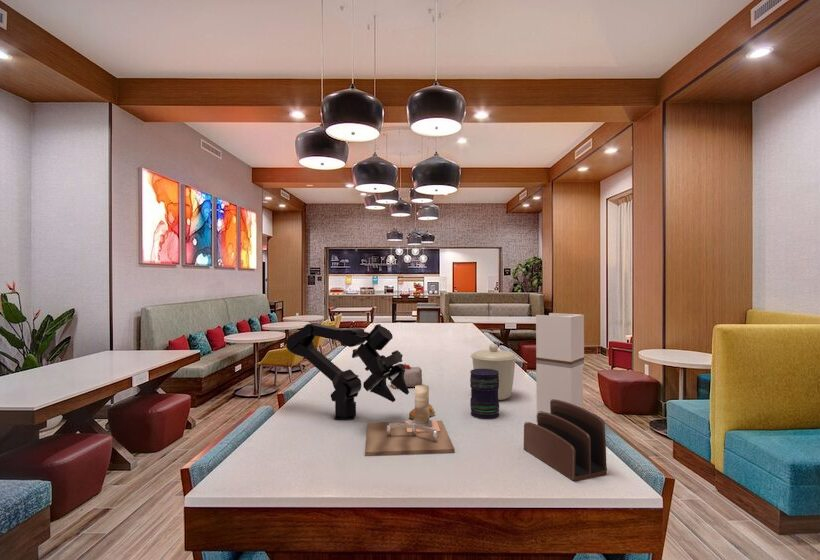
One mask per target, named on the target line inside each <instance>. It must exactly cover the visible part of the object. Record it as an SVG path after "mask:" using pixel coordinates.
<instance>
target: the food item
mask: <svg viewBox="0 0 820 560" xmlns="http://www.w3.org/2000/svg"><path fill="white" fill-rule="evenodd" d="M402 364H403V363H402ZM403 365H404V366H405V367H406V369H405V373H404V380H405V383H406V385H407V387H415V386H417V385H423V378H422V376H423V375H422V372H423V371H422V369H421V367H420V366H411V365H409V364H407V363H404V364H403ZM390 384H391V386H392V389H394V388H397V387H396V386H394V385H393V384H392V383H391V382H390Z"/></svg>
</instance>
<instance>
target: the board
mask: <svg viewBox="0 0 820 560" xmlns="http://www.w3.org/2000/svg"><path fill="white" fill-rule="evenodd" d="M436 421H437V423H438V426H439V428H440V432H438V433H437V442H436V443H434V442H433V433H416V436H415V437H414V436H412V433H407V430H406V428H391V437H387V425H389V424H390V423H405V421H385V422H383V421H381V422H380V421H379V422H377V421H376V422H367V427H366V435H365V436H366V437H365V438H366V439H365V448H364V456H365V457H373V456H399V455H401V456H402V455H403V456H404V454H405V455H426V454H427V455H428V454H429V455H431V454H454V453H455V447H454V444H453V443H452V440H451V438H450V435H449V433H448V431H447V429H446V427H445V424H444V422H443V420H436Z"/></svg>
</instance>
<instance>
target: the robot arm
mask: <svg viewBox="0 0 820 560" xmlns="http://www.w3.org/2000/svg"><path fill="white" fill-rule="evenodd" d="M316 337H320V338H323V339H324V338H325V339H329V340H334V341H338V342H339V343H340V344H341V345H344V346H346V347H348V348H353V347H357V346H358V347H357V348H355V349H352V354H351V358H352V359H354V358H359V359H360V360H361V362H362V363H363V364H364V365H365V367H364V369H365V371H366V372H368V371H369V372H370V373H371V374H370V375H369V376H368V377H367V378H366V379H365V380H364V381H363V388H364V390H365V392H370V393H373V394H376V395H378V396H380V397H382V398H384V399H386V400H388V401H390V402H392V403H394V402H395V401H396V397H395V396H394V394H393V393H392V391H391V390H390V388H389V386H388V385H387V380H389V381H390V384H391V383H392V384H393V385H394V386H396V387H397V388H398V390H399V391H401V392H402V393H404V394H405V395H406V396H407V395H409V393H410V391H409V388H407V385H406V383H405V380H404V373H405V369H406V367H405V366H404V365H403V363H401V362H403V357H404V356H403V354H402V353H401V351H399V350H394V351H392V352H391V354H390V355H388V356H385V355H383V354H382V355H381V354H380V353H379V352H378V351H382V350H383V349H384V348H385V347H386V346H387V345H388V344H389V342H390V341H391V340H393V334H392V332H391V331H390V330H389V329H387V328H386V327H384V326H383V325H381V324H379V323H378V324H376V325H374V326H373V328H372V330H371V331H370V332H367V331H365V330H364V329H363V328H362V327H351V328H350V327H349V328H341V327H335V326H329V325H325V324H319V323H317V322H313V323H312V322H311V323H307V324H305V325H304V326H303V327H302V328H301V329H299V330H298V331H297V332H295V333H293V334H292V335H290V336H289V337H287V339H286V342H285V343H286V345H285V347H286V350H287V351H289V352H290V353H292V354H293V355H296V356H299V357H302V358H304V359H305V360H307V361H308V362H309V363H310V364H311V365H313V366H314V367H315V368H316V369H317V370H318V371H320V372H321V373H322V375H324V376H325V377H327V379H329V380H330V381H331V382H332V383H331V384H332V386H333V389H334V391H333V392H331V393H330V399H331V402H334V403H335V405H334V408H335V411H334V420H335V421H336V420H354V419H355V417H356V414H357V401H355V398H356V397H358V395H359V392H360V391H361V390H362V381H361V378H359V375H357V374H356V373H354V371H353V370H351V369H346V370H344V371H343V370H342V369H341V368H339V367H338V366H337V365H336V364H334V362H333V361H331V360H330V359H329V358H327V357H326V356H325V355H324V354H323V353H321V352H320V351H319V350H318V349H317V348H316V347H315V344H314V342H313V341H314V340H315V338H316Z"/></svg>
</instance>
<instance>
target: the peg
mask: <svg viewBox="0 0 820 560" xmlns="http://www.w3.org/2000/svg"><path fill="white" fill-rule="evenodd" d="M429 404H430V386H429V385H426V384H422V385H417V386H415V388H414V408H415V419H412V423H414V424H415V423H416V424H420V425H423V426H427V427H432V420H433V419H430V417H429Z"/></svg>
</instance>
